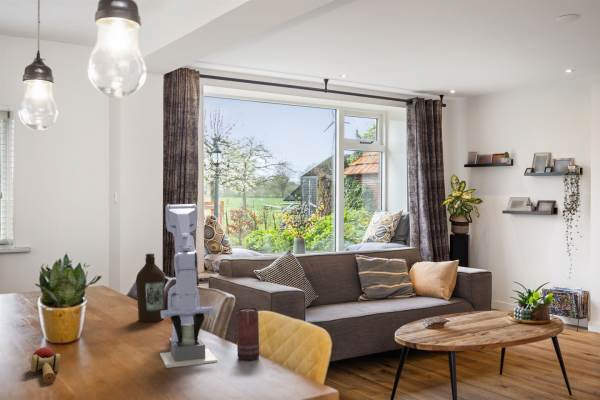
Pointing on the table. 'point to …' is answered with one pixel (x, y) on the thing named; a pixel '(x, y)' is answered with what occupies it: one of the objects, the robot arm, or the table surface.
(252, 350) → the can
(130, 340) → the table surface
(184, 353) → the socket
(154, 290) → the olive oil
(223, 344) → the table surface
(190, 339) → the peg
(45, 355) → the kendama
